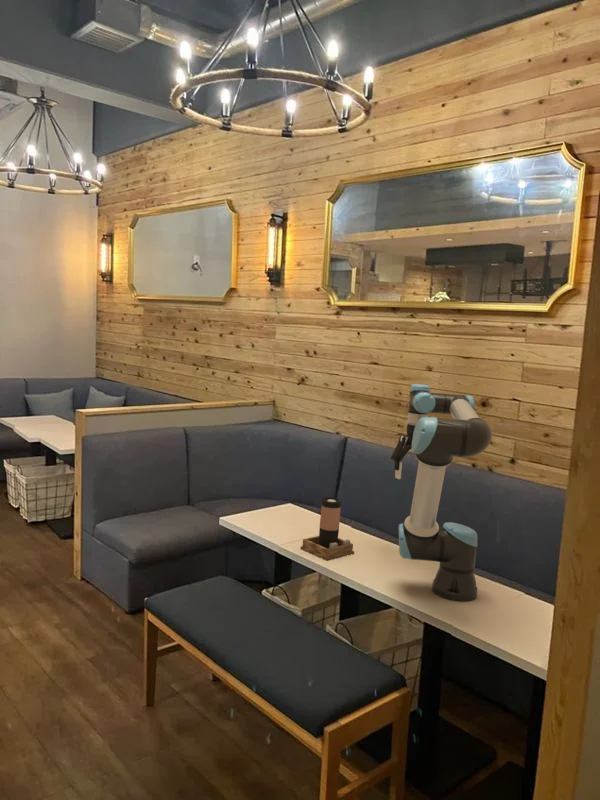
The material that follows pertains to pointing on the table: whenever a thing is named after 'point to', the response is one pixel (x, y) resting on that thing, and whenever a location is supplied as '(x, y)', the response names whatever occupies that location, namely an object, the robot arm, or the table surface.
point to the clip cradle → (333, 552)
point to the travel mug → (329, 521)
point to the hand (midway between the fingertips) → (411, 477)
